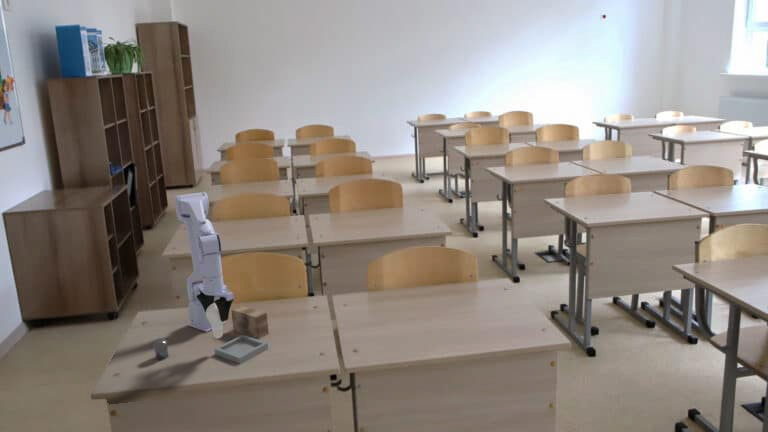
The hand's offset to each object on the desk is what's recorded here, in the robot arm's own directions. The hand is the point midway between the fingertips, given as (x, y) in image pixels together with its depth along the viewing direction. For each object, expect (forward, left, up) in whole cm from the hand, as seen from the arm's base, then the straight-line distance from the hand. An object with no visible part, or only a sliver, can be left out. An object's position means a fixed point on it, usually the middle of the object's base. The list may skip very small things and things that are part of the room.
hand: (217, 318), depth 187 cm
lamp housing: (-2, +14, -11) cm, 17 cm away
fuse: (-12, -12, -11) cm, 20 cm away
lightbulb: (0, -1, -7) cm, 7 cm away
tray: (+6, +3, -11) cm, 12 cm away
